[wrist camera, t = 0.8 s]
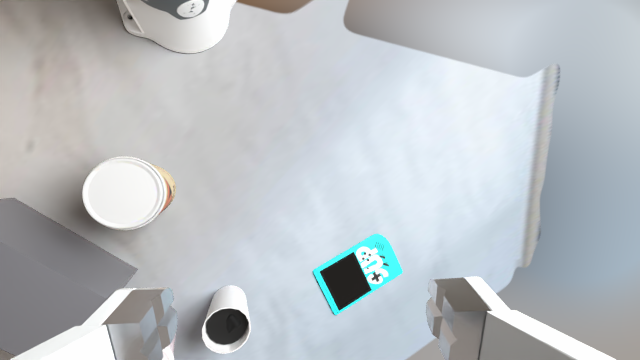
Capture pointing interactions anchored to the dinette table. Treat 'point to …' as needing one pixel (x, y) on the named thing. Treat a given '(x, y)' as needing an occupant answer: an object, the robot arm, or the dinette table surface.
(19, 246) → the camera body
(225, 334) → the white cylindrical cup
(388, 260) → the handheld game console
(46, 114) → the dinette table surface
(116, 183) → the coffee cup
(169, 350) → the smoothie
